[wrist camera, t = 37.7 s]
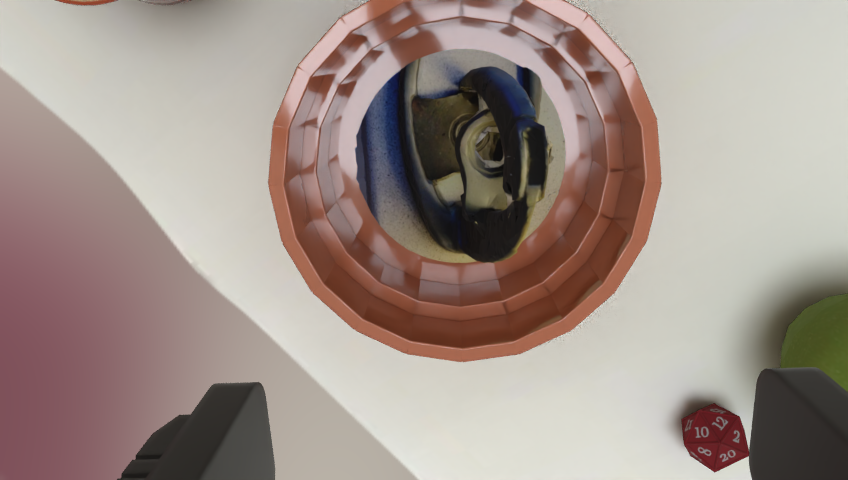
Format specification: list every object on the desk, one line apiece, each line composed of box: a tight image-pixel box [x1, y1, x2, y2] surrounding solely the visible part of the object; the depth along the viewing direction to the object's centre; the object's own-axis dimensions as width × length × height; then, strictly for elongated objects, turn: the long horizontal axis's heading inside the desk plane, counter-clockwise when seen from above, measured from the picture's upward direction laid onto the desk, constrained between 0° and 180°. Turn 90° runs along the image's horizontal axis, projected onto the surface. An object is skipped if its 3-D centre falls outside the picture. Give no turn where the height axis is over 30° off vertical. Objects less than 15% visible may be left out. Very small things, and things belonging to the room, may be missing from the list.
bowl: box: [268, 0, 662, 362], centre depth 34 cm, size 19×19×8 cm
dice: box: [681, 403, 749, 472], centre depth 40 cm, size 4×4×4 cm
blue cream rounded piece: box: [355, 49, 566, 263], centre depth 31 cm, size 12×12×15 cm
